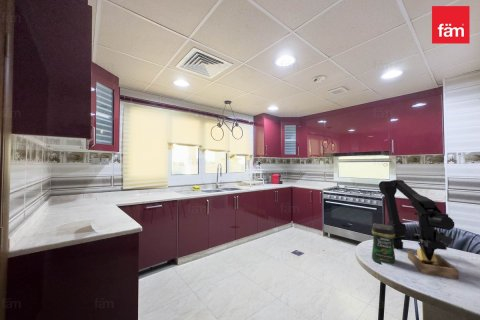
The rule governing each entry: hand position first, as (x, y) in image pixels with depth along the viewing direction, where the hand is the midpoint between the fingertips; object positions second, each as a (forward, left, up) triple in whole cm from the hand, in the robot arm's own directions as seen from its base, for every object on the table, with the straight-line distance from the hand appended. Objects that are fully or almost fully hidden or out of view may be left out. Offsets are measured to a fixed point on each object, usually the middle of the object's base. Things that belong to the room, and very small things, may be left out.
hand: (429, 260), depth 94 cm
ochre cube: (0, +2, -1) cm, 3 cm away
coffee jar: (-18, 0, -4) cm, 18 cm away
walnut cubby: (0, -1, -4) cm, 4 cm away
